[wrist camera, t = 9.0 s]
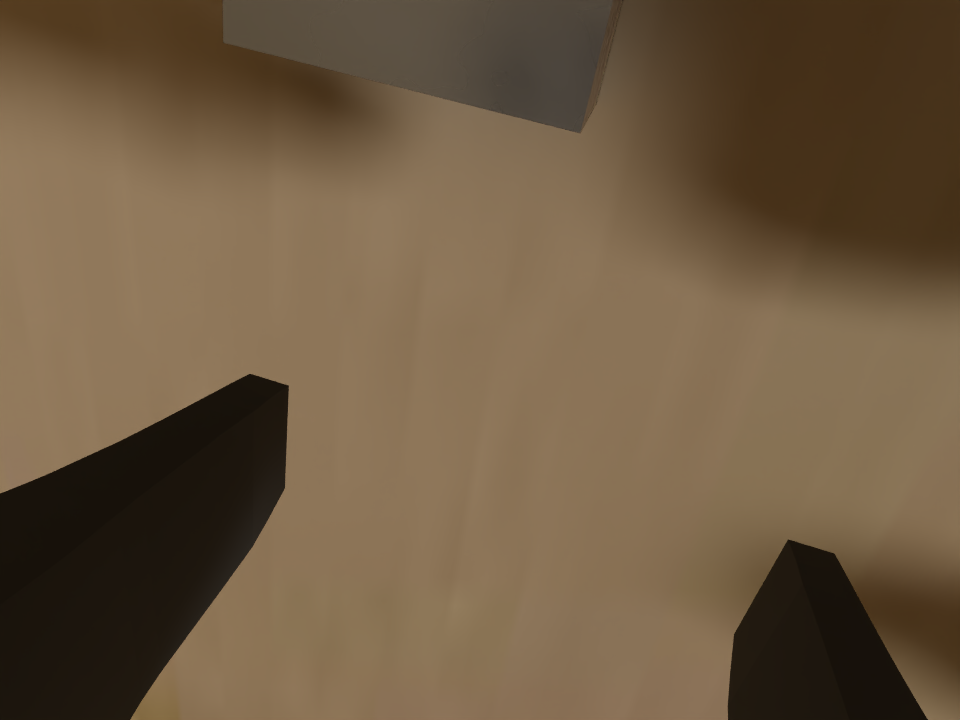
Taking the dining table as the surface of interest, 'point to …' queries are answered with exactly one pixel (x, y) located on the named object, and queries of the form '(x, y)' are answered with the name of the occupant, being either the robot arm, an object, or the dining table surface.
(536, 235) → the dining table surface
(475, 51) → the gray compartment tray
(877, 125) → the dining table surface
